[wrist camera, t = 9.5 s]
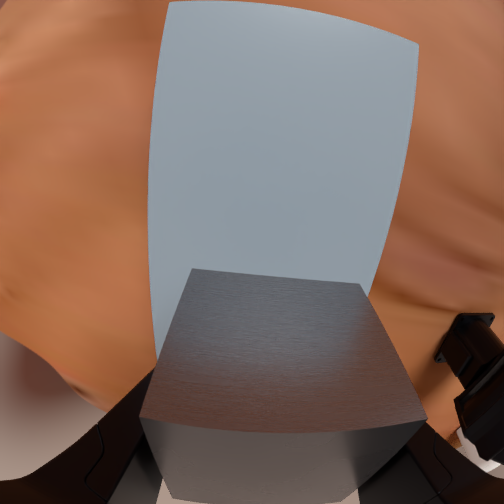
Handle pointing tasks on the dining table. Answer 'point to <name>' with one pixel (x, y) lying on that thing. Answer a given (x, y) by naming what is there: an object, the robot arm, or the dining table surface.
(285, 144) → the box lid
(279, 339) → the block
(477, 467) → the robot arm
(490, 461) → the photo printer
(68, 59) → the dining table surface
